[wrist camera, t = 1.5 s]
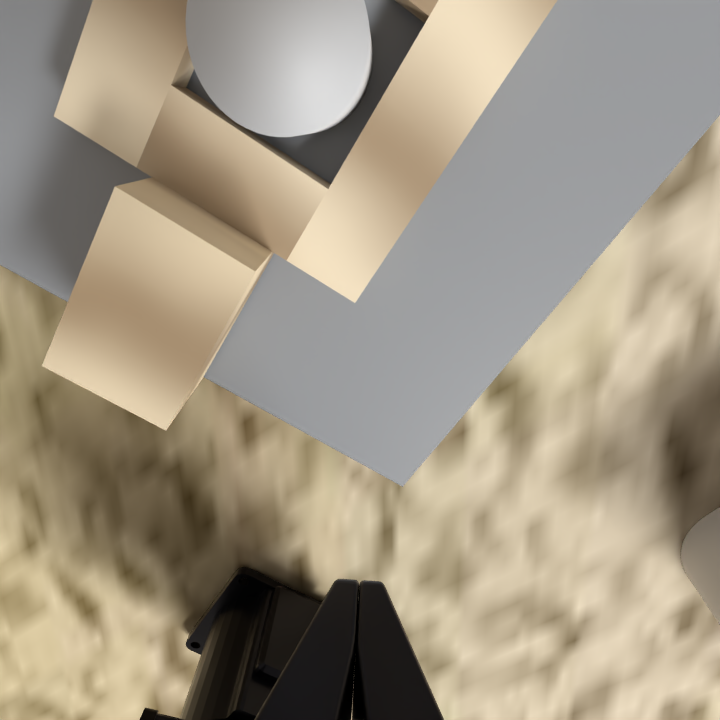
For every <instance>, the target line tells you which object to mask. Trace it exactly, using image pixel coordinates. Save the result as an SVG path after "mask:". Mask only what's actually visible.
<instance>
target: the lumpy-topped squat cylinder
mask: <svg viewBox="0 0 720 720" xmlns="http://www.w3.org/2000/svg"><path fill="white" fill-rule="evenodd" d="M681 562H682V566H683V569H684V571H685V573H686V575H687V576H688V578H689V579H690V581H691V582H692V584H693V585H694V587H695V588H696V590H697V591H698V593H699V594H700V596H701V597H702V599H703V600H704V602H705V603H706V605H707V606H708V608H709V609H710V611H711V612H712V614H713V615H714V617H715V618H716V620H717V621H718V623H719V624H720V507H719V508H717V509H716V510H714V511H713V512H711V513H709V514H708V515H706V516H705V517H704V518H702V519H701V520H700V521H698V522H697V523H696V524H695V525H694V526H693V527H692V528H691V529H690V530H689V532H688V533H687V535H686V536H685V538H684V541H683V544H682V548H681Z"/></svg>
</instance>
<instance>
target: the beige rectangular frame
mask: <svg viewBox="0 0 720 720" xmlns="http://www.w3.org/2000/svg"><path fill="white" fill-rule="evenodd" d="M187 1H188V0H93V1H92V4H91V7H90V10H89V13H88V16H87V19H86V22H85V25H84V28H83V31H82V34H81V37H80V40H79V43H78V46H77V49H76V52H75V55H74V58H73V61H72V64H71V67H70V70H69V72H68V75H67V78H66V81H65V84H64V87H63V90H62V93H61V96H60V99H59V102H58V105H57V108H56V111H55V114H54V117H56V118H57V119H59V120H61V121H62V122H64V123H65V124H67V125H69V126H70V127H72V128H74V129H75V130H77V131H78V132H80V133H82V134H83V135H85V136H86V137H88V138H90V139H91V140H93V141H94V142H96V143H98V144H99V145H101V146H103V147H104V148H106V149H107V150H109V151H111V152H112V153H114V154H115V155H117V156H119V157H120V158H122V159H123V160H125V161H127V162H128V163H130V164H132V165H133V166H135V167H136V168H138V169H140V170H141V171H143V172H144V173H146V174H148V175H149V176H151V178H147V179H143V180H139V181H135V182H131V183H127V184H122V185H118V186H115V187H114V190H113V192H112V195H111V197H110V200H109V202H108V205H107V207H106V209H105V212H104V214H103V217H102V219H101V222H100V224H99V227H98V229H97V232H96V234H95V236H94V239H93V241H92V244H91V246H90V249H89V251H88V254H87V256H86V259H85V261H84V263H83V266H82V268H81V271H80V273H79V276H78V278H77V281H76V283H75V286H74V288H73V290H72V293H71V295H70V298H69V300H68V303H67V305H66V308H65V310H64V313H63V315H62V317H61V320H60V322H59V325H58V327H57V330H56V332H55V335H54V337H53V339H52V342H51V344H50V347H49V349H48V352H47V354H46V357H45V359H44V362H43V364H42V366H43V367H45V368H47V369H48V370H50V371H52V372H54V373H56V374H58V375H60V376H62V377H64V378H66V379H68V380H70V381H72V382H73V383H75V384H77V385H79V386H81V387H83V388H85V389H87V390H89V391H91V392H93V393H95V394H97V395H98V396H100V397H102V398H104V399H106V400H108V401H110V402H112V403H114V404H116V405H118V406H120V407H121V408H123V409H125V410H127V411H129V412H131V413H133V414H135V415H137V416H139V417H141V418H143V419H145V420H146V421H148V422H150V423H152V424H154V425H156V426H158V427H160V428H162V429H164V430H167V429H168V427H169V426H170V424H171V423H172V421H173V420H174V419H175V417H176V416H177V414H178V413H179V412H180V410H181V409H182V407H183V406H184V404H185V403H186V402H187V400H188V399H189V397H190V396H191V394H192V393H193V392H194V390H195V389H196V387H197V386H198V385H199V383H200V382H201V380H202V379H203V377H204V375H205V373H206V372H207V370H208V368H209V366H210V365H211V363H212V361H213V359H214V358H215V356H216V354H217V352H218V351H219V349H220V347H221V345H222V344H223V342H224V340H225V338H226V337H227V335H228V333H229V331H230V330H231V328H232V326H233V324H234V323H235V321H236V319H237V317H238V316H239V314H240V312H241V310H242V308H243V307H244V305H245V303H246V301H247V300H248V298H249V296H250V294H251V293H252V291H253V289H254V287H255V286H256V284H257V282H258V280H259V279H260V277H261V275H262V273H263V272H264V270H265V268H266V266H267V265H268V263H269V261H270V259H271V258H272V256H273V254H274V253H275V254H277V255H278V256H280V257H281V258H283V259H285V260H286V261H288V262H290V263H291V264H293V265H294V266H296V267H298V268H299V269H301V270H302V271H304V272H306V273H307V274H309V275H310V276H312V277H314V278H315V279H317V280H319V281H320V282H322V283H323V284H325V285H327V286H328V287H330V288H331V289H333V290H335V291H336V292H338V293H340V294H341V295H343V296H344V297H346V298H348V299H349V300H351V301H352V302H354V303H355V302H356V301H357V299H358V298H359V296H360V295H361V293H362V292H363V290H364V289H365V287H366V286H367V284H368V283H369V281H370V280H371V278H372V277H373V275H374V274H375V272H376V271H377V270H378V268H379V267H380V265H381V264H382V262H383V261H384V259H385V258H386V256H387V255H388V253H389V252H390V250H391V249H392V247H393V246H394V244H395V243H396V241H397V240H398V238H399V237H400V235H401V234H402V232H403V231H404V229H405V228H406V226H407V225H408V223H409V222H410V220H411V219H412V217H413V216H414V214H415V213H416V211H417V210H418V208H419V207H420V205H421V204H422V202H423V201H424V199H425V198H426V196H427V195H428V193H429V192H430V190H431V189H432V187H433V186H434V184H435V183H436V181H437V180H438V178H439V177H440V175H441V174H442V172H443V171H444V169H445V168H446V166H447V165H448V163H449V162H450V160H451V159H452V157H453V156H454V154H455V153H456V151H457V150H458V148H459V147H460V145H461V144H462V142H463V141H464V139H465V138H466V136H467V135H468V133H469V132H470V130H471V129H472V127H473V126H474V124H475V123H476V121H477V120H478V118H479V117H480V115H481V114H482V112H483V111H484V109H485V108H486V106H487V105H488V103H489V102H490V100H491V99H492V97H493V96H494V94H495V93H496V91H497V90H498V88H499V87H500V86H501V84H502V83H503V81H504V80H505V78H506V77H507V75H508V74H509V72H510V71H511V69H512V68H513V66H514V65H515V63H516V62H517V60H518V59H519V57H520V56H521V54H522V53H523V51H524V50H525V48H526V47H527V45H528V44H529V42H530V41H531V39H532V38H533V36H534V35H535V33H536V32H537V30H538V29H539V27H540V26H541V24H542V23H543V21H544V20H545V18H546V17H547V15H548V14H549V12H550V11H551V9H552V8H553V6H554V5H555V3H556V2H557V0H395V1H396V2H398V3H399V4H400V5H402V6H403V7H404V8H405V9H407V10H408V11H409V12H411V13H412V14H413V15H415V16H416V17H417V18H418V19H420V20H421V21H422V22H424V23H425V24H424V26H423V28H422V29H421V31H420V33H419V35H418V36H417V38H416V40H415V41H414V43H413V45H412V47H411V48H410V50H409V52H408V53H407V55H406V57H405V59H404V60H403V62H402V64H401V65H400V67H399V69H398V71H397V72H396V74H395V76H394V77H393V79H392V81H391V83H390V84H389V86H388V88H387V89H386V91H385V93H384V95H383V96H382V98H381V100H380V101H379V103H378V105H377V107H376V108H375V110H374V112H373V113H372V115H371V117H370V119H369V120H368V122H367V124H366V125H365V127H364V129H363V131H362V132H361V134H360V136H359V137H358V139H357V141H356V143H355V144H354V146H353V148H352V149H351V151H350V153H349V155H348V156H347V158H346V160H345V161H344V163H343V165H342V166H341V168H340V170H339V172H338V173H337V175H336V177H335V178H334V180H333V182H332V184H330V183H329V182H327V181H326V180H324V179H323V178H321V177H320V176H318V175H317V174H315V173H314V172H312V171H311V170H309V169H308V168H306V167H305V166H303V165H302V164H300V163H299V162H297V161H296V160H294V159H293V158H291V157H290V156H288V155H287V154H285V153H284V152H282V151H281V150H279V149H278V148H276V147H275V146H273V145H272V144H270V143H269V142H267V141H266V140H264V139H263V138H261V137H260V136H258V135H257V134H255V133H254V132H252V131H251V130H249V129H246V128H245V127H243V126H241V125H239V124H238V123H236V122H235V121H233V120H232V119H231V118H229V117H228V116H227V115H226V114H225V113H224V112H222V111H221V110H219V109H218V108H216V107H215V106H213V105H212V104H210V103H209V102H207V101H206V100H204V99H203V98H201V97H200V96H198V95H197V94H195V93H193V92H192V91H190V90H189V89H187V88H186V87H187V85H188V82H189V80H190V78H191V75H192V73H193V71H194V67H193V64H192V61H191V57H190V53H189V50H188V44H187V37H186V7H187Z"/></svg>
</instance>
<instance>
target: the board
mask: <svg viewBox="0 0 720 720" xmlns="http://www.w3.org/2000/svg"><path fill="white" fill-rule="evenodd" d="M92 1H93V0H0V265H1V266H3V267H5V268H7V269H9V270H10V271H12V272H14V273H16V274H18V275H19V276H21V277H23V278H25V279H27V280H29V281H30V282H32V283H34V284H36V285H38V286H39V287H41V288H43V289H45V290H47V291H49V292H50V293H52V294H54V295H56V296H58V297H59V298H61V299H63V300H65V301H67V302H68V300H69V298H70V295H71V293H72V290H73V288H74V286H75V283H76V281H77V278H78V276H79V273H80V271H81V268H82V266H83V263H84V261H85V259H86V256H87V254H88V251H89V249H90V246H91V244H92V241H93V239H94V236H95V234H96V232H97V229H98V227H99V224H100V222H101V219H102V217H103V214H104V212H105V209H106V207H107V205H108V202H109V200H110V197H111V195H112V192H113V190H114V187H115V186H118V185H122V184H127V183H131V182H135V181H139V180H143V179H147V178H151V176H149V175H148V174H146V173H144V172H143V171H141V170H140V169H138V168H136V167H135V166H133V165H132V164H130V163H128V162H127V161H125V160H123V159H122V158H120V157H119V156H117V155H115V154H114V153H112V152H111V151H109V150H107V149H106V148H104V147H103V146H101V145H99V144H98V143H96V142H94V141H93V140H91V139H90V138H88V137H86V136H85V135H83V134H82V133H80V132H78V131H77V130H75V129H74V128H72V127H70V126H69V125H67V124H65V123H64V122H62V121H61V120H59V119H57V118H56V117H54V114H55V111H56V108H57V105H58V102H59V99H60V96H61V93H62V90H63V87H64V84H65V81H66V78H67V75H68V72H69V70H70V67H71V64H72V61H73V58H74V55H75V52H76V49H77V46H78V43H79V40H80V37H81V34H82V31H83V28H84V25H85V22H86V19H87V16H88V13H89V10H90V7H91V4H92ZM424 24H425V23H424V22H422V21H421V20H420V19H418V18H417V17H416V16H415V15H413V14H412V13H411V12H409V11H408V10H407V9H405V8H404V7H403V6H402V5H400V4H399V3H398V2H396V1H395V0H188V1H187V7H186V37H187V44H188V50H189V53H190V57H191V61H192V64H193V67H194V71H193V73H192V75H191V78H190V80H189V82H188V85H187V87H186V88H187V89H189V90H190V91H192V92H193V93H195V94H197V95H198V96H200V97H201V98H203V99H204V100H206V101H207V102H209V103H210V104H212V105H213V106H215V107H216V108H218V109H219V110H221V111H222V112H224V113H225V114H226V115H227V116H228V117H229V118H231V119H232V120H233V121H235V122H236V123H238V124H239V125H241V126H243V127H245V128H246V129H249V130H251V131H252V132H254V133H255V134H257V135H258V136H260V137H261V138H263V139H264V140H266V141H267V142H269V143H270V144H272V145H273V146H275V147H276V148H278V149H279V150H281V151H282V152H284V153H285V154H287V155H288V156H290V157H291V158H293V159H294V160H296V161H297V162H299V163H300V164H302V165H303V166H305V167H306V168H308V169H309V170H311V171H312V172H314V173H315V174H317V175H318V176H320V177H321V178H323V179H324V180H326V181H327V182H329V183H330V184H332V182H333V180H334V178H335V177H336V175H337V173H338V172H339V170H340V168H341V166H342V165H343V163H344V161H345V160H346V158H347V156H348V155H349V153H350V151H351V149H352V148H353V146H354V144H355V143H356V141H357V139H358V137H359V136H360V134H361V132H362V131H363V129H364V127H365V125H366V124H367V122H368V120H369V119H370V117H371V115H372V113H373V112H374V110H375V108H376V107H377V105H378V103H379V101H380V100H381V98H382V96H383V95H384V93H385V91H386V89H387V88H388V86H389V84H390V83H391V81H392V79H393V77H394V76H395V74H396V72H397V71H398V69H399V67H400V65H401V64H402V62H403V60H404V59H405V57H406V55H407V53H408V52H409V50H410V48H411V47H412V45H413V43H414V41H415V40H416V38H417V36H418V35H419V33H420V31H421V29H422V28H423V26H424ZM719 115H720V0H557V2H556V3H555V5H554V6H553V8H552V9H551V11H550V12H549V14H548V15H547V17H546V18H545V20H544V21H543V23H542V24H541V26H540V27H539V29H538V30H537V32H536V33H535V35H534V36H533V38H532V39H531V41H530V42H529V44H528V45H527V47H526V48H525V50H524V51H523V53H522V54H521V56H520V57H519V59H518V60H517V62H516V63H515V65H514V66H513V68H512V69H511V71H510V72H509V74H508V75H507V77H506V78H505V80H504V81H503V83H502V84H501V86H500V87H499V88H498V90H497V91H496V93H495V94H494V96H493V97H492V99H491V100H490V102H489V103H488V105H487V106H486V108H485V109H484V111H483V112H482V114H481V115H480V117H479V118H478V120H477V121H476V123H475V124H474V126H473V127H472V129H471V130H470V132H469V133H468V135H467V136H466V138H465V139H464V141H463V142H462V144H461V145H460V147H459V148H458V150H457V151H456V153H455V154H454V156H453V157H452V159H451V160H450V162H449V163H448V165H447V166H446V168H445V169H444V171H443V172H442V174H441V175H440V177H439V178H438V180H437V181H436V183H435V184H434V186H433V187H432V189H431V190H430V192H429V193H428V195H427V196H426V198H425V199H424V201H423V202H422V204H421V205H420V207H419V208H418V210H417V211H416V213H415V214H414V216H413V217H412V219H411V220H410V222H409V223H408V225H407V226H406V228H405V229H404V231H403V232H402V234H401V235H400V237H399V238H398V240H397V241H396V243H395V244H394V246H393V247H392V249H391V250H390V252H389V253H388V255H387V256H386V258H385V259H384V261H383V262H382V264H381V265H380V267H379V268H378V270H377V271H376V272H375V274H374V275H373V277H372V278H371V280H370V281H369V283H368V284H367V286H366V287H365V289H364V290H363V292H362V293H361V295H360V296H359V298H358V299H357V301H356V302H355V303H354V302H352V301H351V300H349V299H348V298H346V297H344V296H343V295H341V294H340V293H338V292H336V291H335V290H333V289H331V288H330V287H328V286H327V285H325V284H323V283H322V282H320V281H319V280H317V279H315V278H314V277H312V276H310V275H309V274H307V273H306V272H304V271H302V270H301V269H299V268H298V267H296V266H294V265H293V264H291V263H290V262H288V261H286V260H285V259H283V258H281V257H280V256H278V255H277V254H275V253H274V254H273V256H272V258H271V259H270V261H269V263H268V265H267V266H266V268H265V270H264V272H263V273H262V275H261V277H260V279H259V280H258V282H257V284H256V286H255V287H254V289H253V291H252V293H251V294H250V296H249V298H248V300H247V301H246V303H245V305H244V307H243V308H242V310H241V312H240V314H239V316H238V317H237V319H236V321H235V323H234V324H233V326H232V328H231V330H230V331H229V333H228V335H227V337H226V338H225V340H224V342H223V344H222V345H221V347H220V349H219V351H218V352H217V354H216V356H215V358H214V359H213V361H212V363H211V365H210V366H209V368H208V370H207V372H206V373H205V375H204V377H205V378H206V379H208V380H210V381H212V382H214V383H216V384H217V385H219V386H221V387H223V388H225V389H226V390H228V391H230V392H232V393H234V394H235V395H237V396H239V397H241V398H243V399H245V400H246V401H248V402H250V403H252V404H254V405H255V406H257V407H259V408H261V409H263V410H265V411H266V412H268V413H270V414H272V415H274V416H275V417H277V418H279V419H281V420H283V421H284V422H286V423H288V424H290V425H292V426H294V427H295V428H297V429H299V430H301V431H303V432H304V433H306V434H308V435H310V436H312V437H314V438H315V439H317V440H319V441H321V442H323V443H324V444H326V445H328V446H330V447H332V448H334V449H335V450H337V451H339V452H341V453H343V454H344V455H346V456H348V457H350V458H352V459H353V460H355V461H357V462H359V463H361V464H363V465H364V466H366V467H368V468H370V469H372V470H373V471H375V472H377V473H379V474H381V475H383V476H384V477H386V478H388V479H390V480H392V481H393V482H395V483H397V484H399V485H401V486H402V487H403V485H404V484H405V483H406V482H407V481H408V480H409V478H410V477H411V476H412V475H413V474H414V473H415V471H416V470H417V469H418V468H419V467H420V466H421V464H422V463H423V462H424V461H425V460H426V459H427V457H428V456H429V455H430V454H431V453H432V451H433V450H434V449H435V448H436V447H437V446H438V444H439V443H440V442H441V441H442V440H443V439H444V437H445V436H446V435H447V434H448V433H449V432H450V430H451V429H452V428H453V427H454V426H455V425H456V423H457V422H458V421H459V420H460V419H461V418H462V416H463V415H464V414H465V413H466V412H467V410H468V409H469V408H470V407H471V406H472V405H473V403H474V402H475V401H476V400H477V399H478V398H479V396H480V395H481V394H482V393H483V392H484V391H485V389H486V388H487V387H488V386H489V385H490V384H491V382H492V381H493V380H494V379H495V378H496V377H497V375H498V374H499V373H500V372H501V371H502V369H503V368H504V367H505V366H506V365H507V364H508V362H509V361H510V360H511V359H512V358H513V357H514V355H515V354H516V353H517V352H518V351H519V350H520V348H521V347H522V346H523V345H524V344H525V343H526V341H527V340H528V339H529V338H530V337H531V336H532V334H533V333H534V332H535V331H536V330H537V328H538V327H539V326H540V325H541V324H542V323H543V321H544V320H545V319H546V318H547V317H548V316H549V314H550V313H551V312H552V311H553V310H554V309H555V307H556V306H557V305H558V304H559V303H560V302H561V300H562V299H563V298H564V297H565V296H566V295H567V293H568V292H569V291H570V290H571V289H572V287H573V286H574V285H575V284H576V283H577V282H578V280H579V279H580V278H581V277H582V276H583V275H584V273H585V272H586V271H587V270H588V269H589V268H590V266H591V265H592V264H593V263H594V262H595V261H596V259H597V258H598V257H599V256H600V255H601V254H602V252H603V251H604V250H605V249H606V248H607V246H608V245H609V244H610V243H611V242H612V241H613V239H614V238H615V237H616V236H617V235H618V234H619V232H620V231H621V230H622V229H623V228H624V227H625V225H626V224H627V223H628V222H629V221H630V220H631V218H632V217H633V216H634V215H635V214H636V213H637V211H638V210H639V209H640V208H641V207H642V205H643V204H644V203H645V202H646V201H647V200H648V198H649V197H650V196H651V195H652V194H653V193H654V191H655V190H656V189H657V188H658V187H659V186H660V184H661V183H662V182H663V181H664V180H665V179H666V177H667V176H668V175H669V174H670V173H671V172H672V170H673V169H674V168H675V167H676V166H677V164H678V163H679V162H680V161H681V160H682V159H683V157H684V156H685V155H686V154H687V153H688V152H689V150H690V149H691V148H692V147H693V146H694V145H695V143H696V142H697V141H698V140H699V139H700V138H701V136H702V135H703V134H704V133H705V132H706V131H707V129H708V128H709V127H710V126H711V125H712V123H713V122H714V121H715V120H716V119H717V118H718V116H719Z"/></svg>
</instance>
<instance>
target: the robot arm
mask: <svg viewBox="0 0 720 720" xmlns="http://www.w3.org/2000/svg"><path fill="white" fill-rule="evenodd" d="M245 578H247V579H245ZM358 596H359V599H358ZM186 646H187V648H188V649H190V650H191V651H194V652H196V653H198V654H201V657H200V660H199V663H198V666H197V669H196V672H195V675H194V678H193V681H192V684H191V687H190V689H189V692H188V695H187V698H186V701H185V704H184V707H183V710H182V713H181V716H180V718H176V717H171V716H167V715H163V714H158V710H153V709H149V708H145V709H144V711H143V713H142V716H141V718H140V720H351V713H352V720H444V718H443V716H442V714H441V712H440V709H439V707H438V705H437V703H436V700H435V698H434V696H433V694H432V691H431V689H430V687H429V685H428V682H427V680H426V678H425V676H424V673H423V671H422V669H421V667H420V664H419V662H418V660H417V658H416V655H415V653H414V651H413V649H412V646H411V644H410V642H409V639H408V637H407V635H406V633H405V630H404V628H403V626H402V624H401V621H400V619H399V617H398V615H397V612H396V610H395V608H394V606H393V603H392V601H391V599H390V597H389V594H388V592H387V590H386V588H385V586H384V584H383V583H382V582H379V581H365V580H364V581H361V582H360V584H359V583H358V581H357V580H350V579H337V580H336V581H335V582H334V583H333V585H332V587H331V588H330V590H329V592H328V593H327V595H326V597H325V599H324V600H323V602H322V603H321V602H319V601H317V600H315V599H313V598H311V597H309V596H307V595H305V594H302V593H300V592H298V591H296V590H294V589H292V588H290V587H288V586H286V585H284V584H282V583H280V582H278V581H275V580H273V579H271V578H269V577H267V576H265V575H263V574H261V573H259V572H257V571H255V570H253V569H250V568H247V567H242V568H239V569H238V570H237V571H236V572H235V573H234V575H233V576H232V577H231V579H230V580H229V581H228V583H227V584H226V585H225V587H224V588H223V590H222V591H221V592H220V594H219V595H218V596H217V598H216V599H215V600H214V602H213V603H212V604H211V606H210V607H209V608H208V610H207V611H206V612H205V614H204V615H203V617H202V618H201V619H200V621H199V622H198V623H197V625H196V626H195V627H194V629H193V630H192V631H191V633H190V634H189V636H188V639H187V642H186ZM354 668H355V669H354ZM353 684H354V688H353ZM352 700H353V708H352Z"/></svg>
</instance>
